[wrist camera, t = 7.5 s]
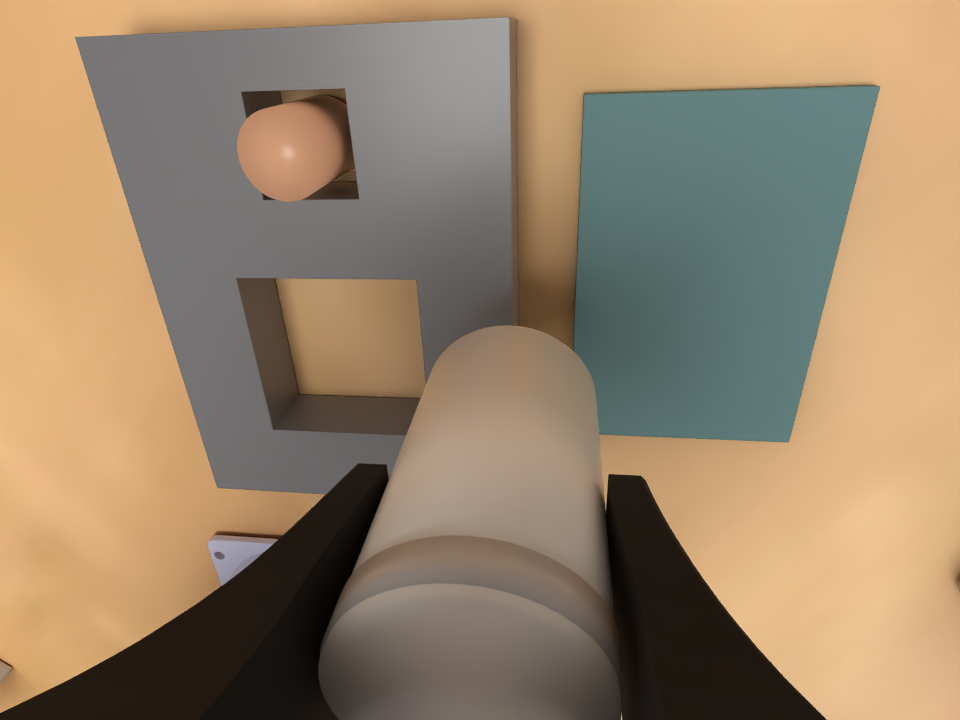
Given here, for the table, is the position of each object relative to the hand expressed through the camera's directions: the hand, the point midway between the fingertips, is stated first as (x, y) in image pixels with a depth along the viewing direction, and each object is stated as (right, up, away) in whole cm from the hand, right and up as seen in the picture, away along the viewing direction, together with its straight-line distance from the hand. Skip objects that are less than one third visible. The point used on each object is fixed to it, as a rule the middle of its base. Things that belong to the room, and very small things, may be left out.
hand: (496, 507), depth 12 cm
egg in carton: (-5, +10, +7) cm, 13 cm away
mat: (+7, +6, +8) cm, 12 cm away
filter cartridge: (0, +2, +3) cm, 4 cm away
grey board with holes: (-5, +6, +10) cm, 12 cm away
